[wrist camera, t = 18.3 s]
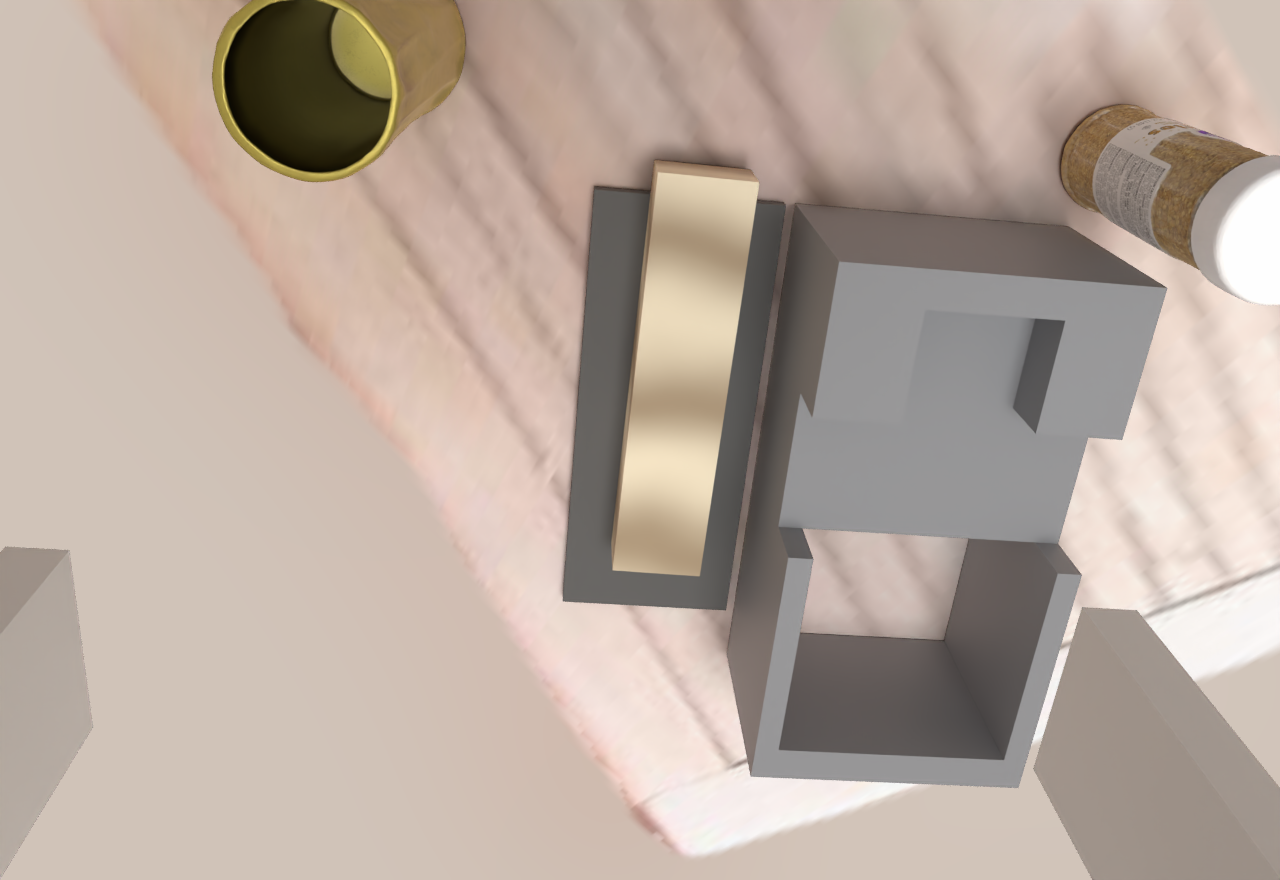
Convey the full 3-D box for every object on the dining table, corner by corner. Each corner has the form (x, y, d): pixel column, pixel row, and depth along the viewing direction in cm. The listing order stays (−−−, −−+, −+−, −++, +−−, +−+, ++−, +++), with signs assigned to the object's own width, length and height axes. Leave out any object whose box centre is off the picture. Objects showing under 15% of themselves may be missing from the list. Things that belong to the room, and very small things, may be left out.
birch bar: (654, 159, 46) (657, 172, 44) (750, 169, 46) (759, 182, 44) (611, 542, 53) (612, 570, 51) (694, 548, 54) (699, 576, 51)
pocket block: (795, 203, 48) (839, 261, 39) (1068, 226, 48) (1167, 288, 40) (726, 654, 57) (750, 776, 49) (956, 666, 58) (1018, 787, 50)
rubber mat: (594, 186, 47) (594, 189, 46) (783, 202, 47) (785, 205, 47) (563, 594, 55) (562, 601, 55) (724, 603, 56) (725, 610, 55)
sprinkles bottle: (1178, 109, 47) (1389, 175, 34) (1144, 218, 48) (1333, 316, 36) (1072, 95, 46) (1248, 157, 34) (1042, 205, 48) (1199, 301, 36)
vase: (455, -50, 43) (400, -38, 30) (475, 115, 45) (431, 192, 32) (295, -39, 43) (170, -23, 30) (323, 125, 45) (220, 206, 32)
